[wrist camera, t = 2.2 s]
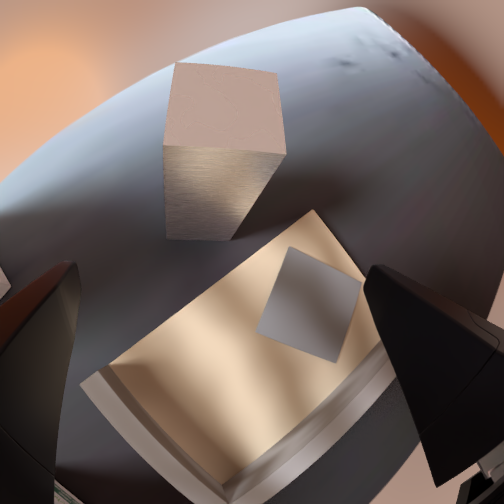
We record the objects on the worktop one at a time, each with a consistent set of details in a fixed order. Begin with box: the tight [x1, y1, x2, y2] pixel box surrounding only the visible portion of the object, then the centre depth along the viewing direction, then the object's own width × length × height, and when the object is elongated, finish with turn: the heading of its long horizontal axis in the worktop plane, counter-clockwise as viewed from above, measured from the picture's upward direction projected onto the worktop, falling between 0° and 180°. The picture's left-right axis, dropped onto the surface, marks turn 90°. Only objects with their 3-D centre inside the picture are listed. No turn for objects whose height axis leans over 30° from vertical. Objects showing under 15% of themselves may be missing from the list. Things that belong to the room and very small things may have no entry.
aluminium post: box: [163, 62, 287, 241], centre depth 17 cm, size 4×4×12 cm
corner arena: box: [79, 209, 396, 504], centre depth 19 cm, size 20×13×4 cm, turn 129°
